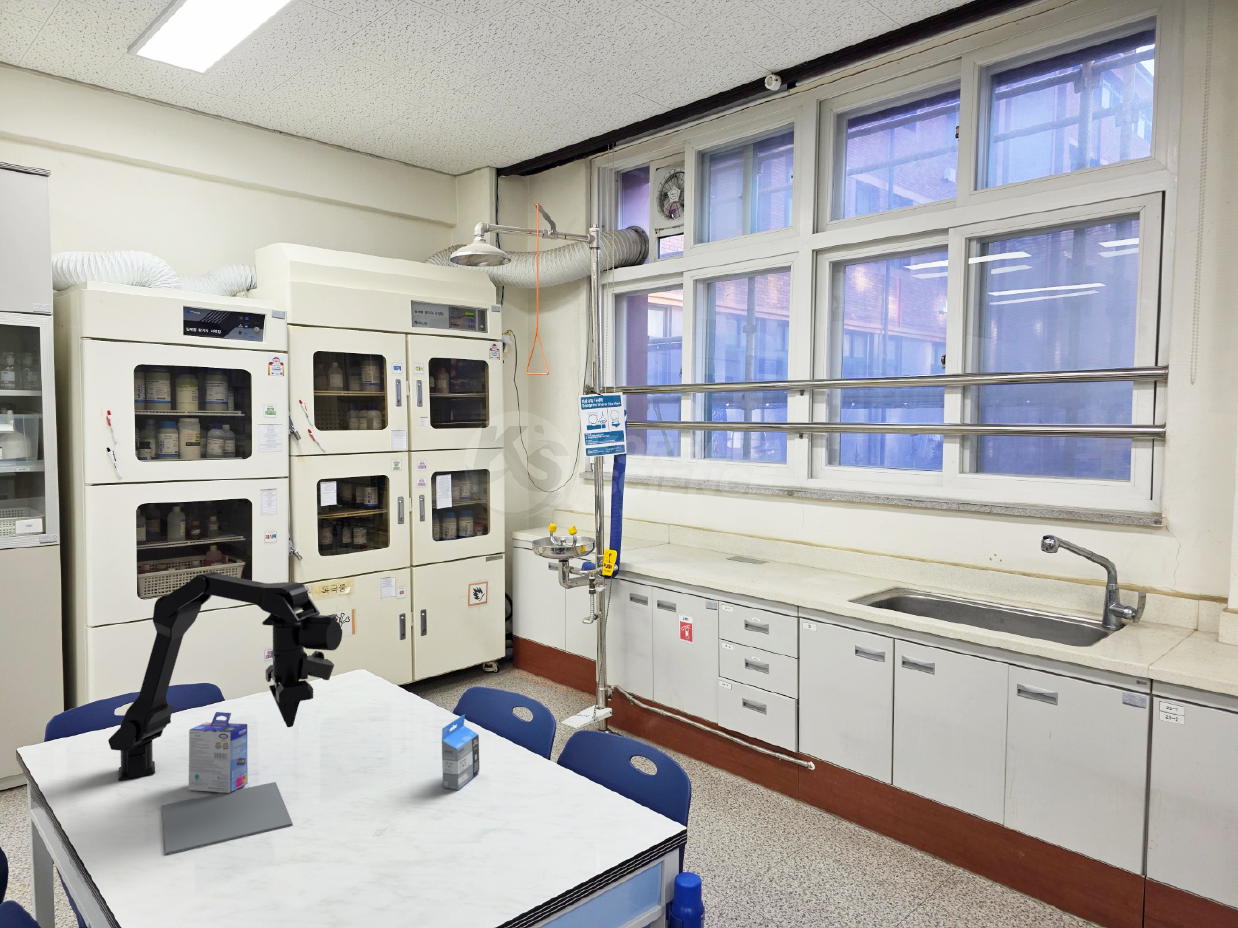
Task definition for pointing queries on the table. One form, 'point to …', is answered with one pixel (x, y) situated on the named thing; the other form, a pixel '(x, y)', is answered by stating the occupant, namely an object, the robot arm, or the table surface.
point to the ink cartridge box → (218, 756)
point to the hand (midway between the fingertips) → (288, 724)
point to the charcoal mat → (223, 817)
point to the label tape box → (459, 754)
